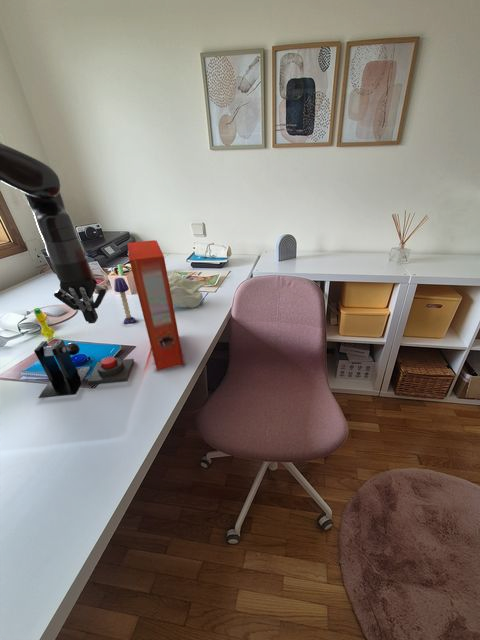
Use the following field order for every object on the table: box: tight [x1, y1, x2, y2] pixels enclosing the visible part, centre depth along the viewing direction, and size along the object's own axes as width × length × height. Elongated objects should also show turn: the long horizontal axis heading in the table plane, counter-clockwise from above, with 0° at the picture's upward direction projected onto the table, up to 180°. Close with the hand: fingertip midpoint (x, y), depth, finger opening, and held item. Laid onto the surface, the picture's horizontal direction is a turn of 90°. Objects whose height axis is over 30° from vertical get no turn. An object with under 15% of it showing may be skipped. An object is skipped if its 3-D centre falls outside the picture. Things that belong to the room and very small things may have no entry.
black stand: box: [33, 339, 92, 399], centre depth 79 cm, size 12×9×13 cm
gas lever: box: [43, 342, 81, 357], centre depth 81 cm, size 13×4×4 cm, turn 8°
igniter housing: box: [86, 357, 135, 386], centre depth 84 cm, size 10×9×4 cm
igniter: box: [100, 356, 117, 369], centre depth 83 cm, size 4×4×2 cm
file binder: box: [127, 239, 185, 371], centre depth 86 cm, size 8×17×32 cm, turn 22°
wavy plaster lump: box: [168, 275, 206, 309], centre depth 119 cm, size 18×13×16 cm
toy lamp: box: [113, 277, 137, 325], centre depth 108 cm, size 5×5×17 cm
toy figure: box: [33, 307, 55, 340], centre depth 99 cm, size 7×4×12 cm, turn 26°
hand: (93, 321), depth 82 cm, fingers closed
